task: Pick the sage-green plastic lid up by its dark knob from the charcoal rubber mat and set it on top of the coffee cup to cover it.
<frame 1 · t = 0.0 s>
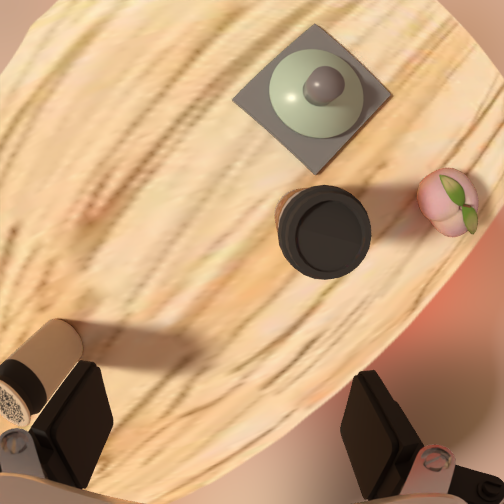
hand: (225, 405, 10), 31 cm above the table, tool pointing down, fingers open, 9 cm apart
travel mug: (63, 339, 44), on the table
lid: (316, 93, 36), point 1 cm above the table, touching mat
mat: (315, 94, 37), on the table
decorative fruit: (428, 196, 40), on the table
coffee cup: (298, 213, 40), on the table
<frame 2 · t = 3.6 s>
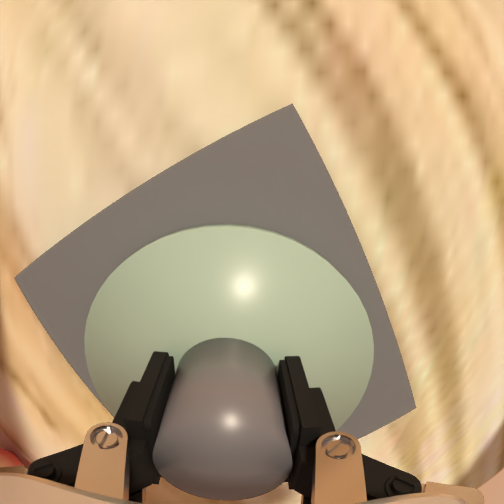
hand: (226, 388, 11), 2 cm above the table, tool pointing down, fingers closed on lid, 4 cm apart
lid: (227, 366, 13), point 1 cm above the table, touching gripper, mat
mat: (227, 359, 13), on the table
decorative fruit: (18, 456, 16), on the table
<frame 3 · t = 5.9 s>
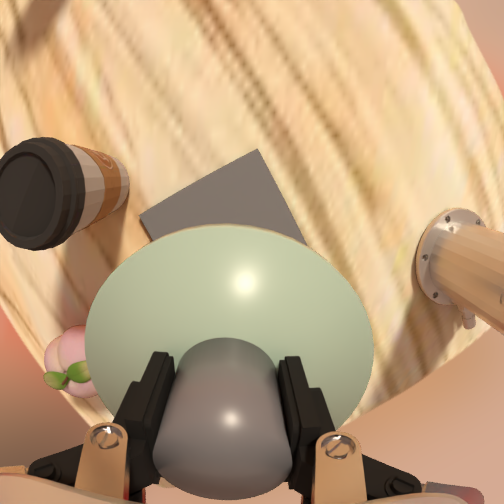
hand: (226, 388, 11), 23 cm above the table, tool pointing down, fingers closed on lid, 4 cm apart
lid: (227, 366, 13), point 22 cm above the table, touching gripper
mat: (233, 248, 34), on the table
decorative fruit: (97, 341, 36), on the table
coffee cup: (105, 184, 32), on the table
when the fingers open (18 cm above the table, at t = 8.3 s): lid drops 1 cm, resting on coffee cup.
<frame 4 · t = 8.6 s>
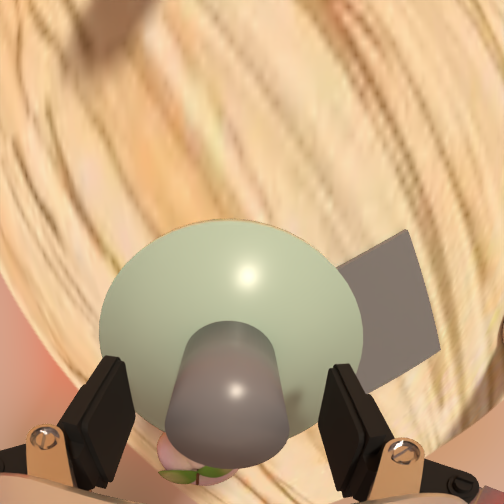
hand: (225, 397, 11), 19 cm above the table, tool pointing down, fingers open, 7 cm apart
lid: (230, 349, 14), point 15 cm above the table, touching coffee cup
mat: (371, 327, 31), on the table
decorative fruit: (206, 419, 34), on the table
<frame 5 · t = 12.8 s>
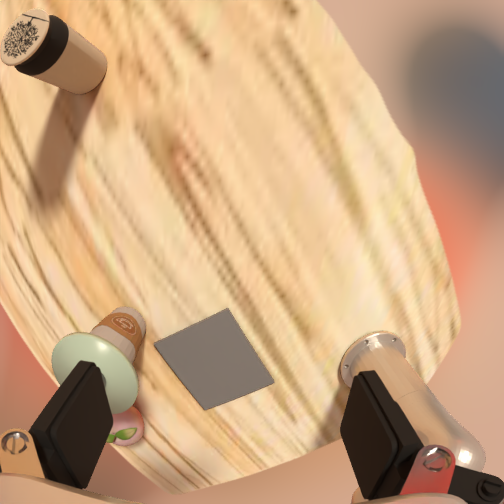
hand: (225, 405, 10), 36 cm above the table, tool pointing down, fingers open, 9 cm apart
travel mug: (86, 71, 39), on the table
lid: (94, 374, 34), point 15 cm above the table, touching coffee cup
mat: (215, 363, 51), on the table
decorative fruit: (129, 407, 53), on the table
coffee cup: (129, 322, 49), on the table, touching lid
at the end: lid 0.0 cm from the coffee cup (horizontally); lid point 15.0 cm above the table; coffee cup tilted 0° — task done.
